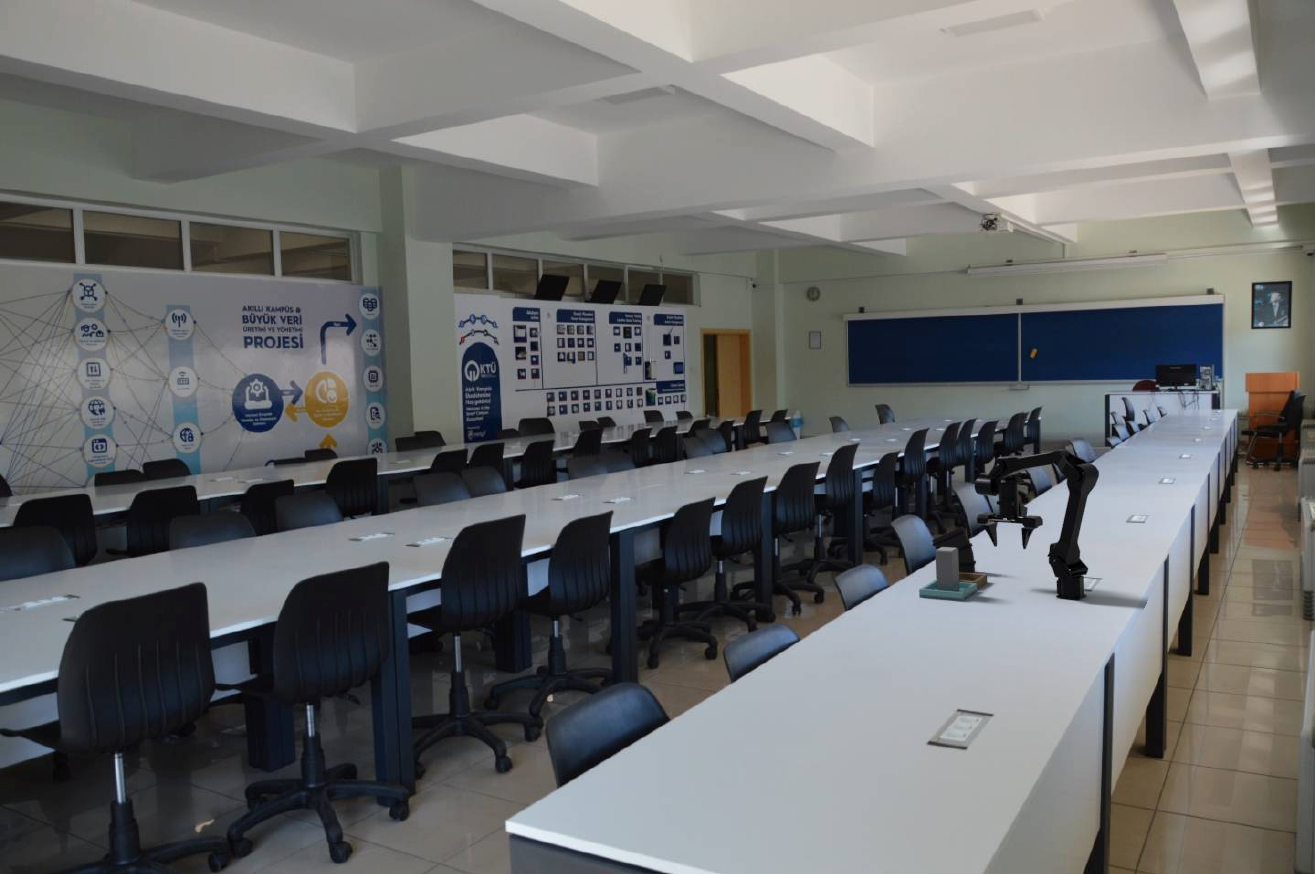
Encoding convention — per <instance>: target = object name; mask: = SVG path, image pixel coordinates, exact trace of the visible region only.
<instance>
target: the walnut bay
mask: <svg viewBox="0 0 1315 874" xmlns="http://www.w3.org/2000/svg"><path fill="white" fill-rule="evenodd" d="M959 582H966V583H977V590H979V589H980V588H982V587H983V586H984V585H986V584H987V583H988V574H985V573H984V574H983V573H975V572H974V573H960V572H959Z"/></svg>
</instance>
